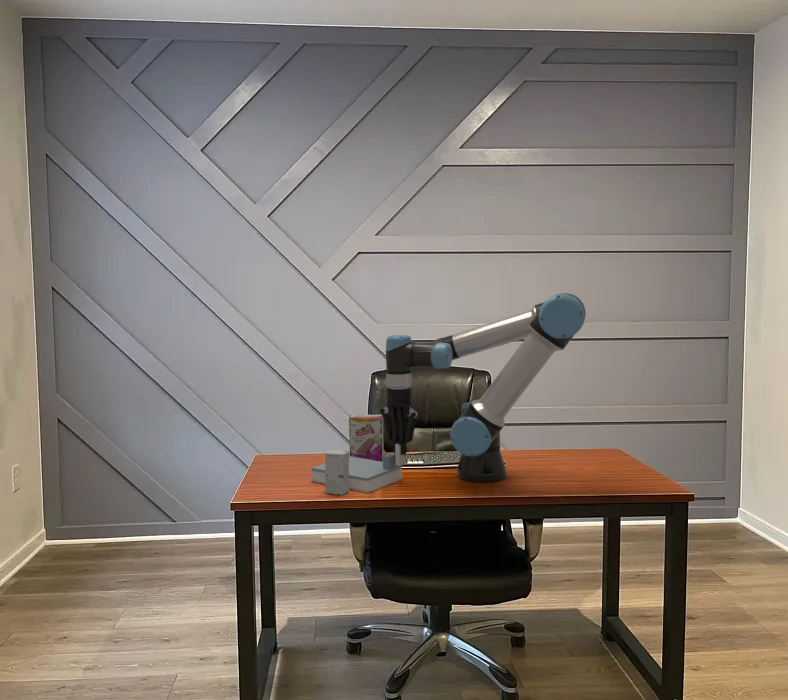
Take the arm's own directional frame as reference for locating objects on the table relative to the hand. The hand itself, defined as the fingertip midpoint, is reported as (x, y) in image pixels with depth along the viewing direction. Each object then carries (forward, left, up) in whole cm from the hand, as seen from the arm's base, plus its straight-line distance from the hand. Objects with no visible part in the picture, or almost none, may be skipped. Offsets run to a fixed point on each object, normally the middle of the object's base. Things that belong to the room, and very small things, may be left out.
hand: (400, 464), depth 210 cm
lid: (+13, +4, -2) cm, 14 cm away
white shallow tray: (+13, +4, -6) cm, 15 cm away
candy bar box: (+23, -13, -6) cm, 28 cm away
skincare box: (+10, +17, -6) cm, 21 cm away
